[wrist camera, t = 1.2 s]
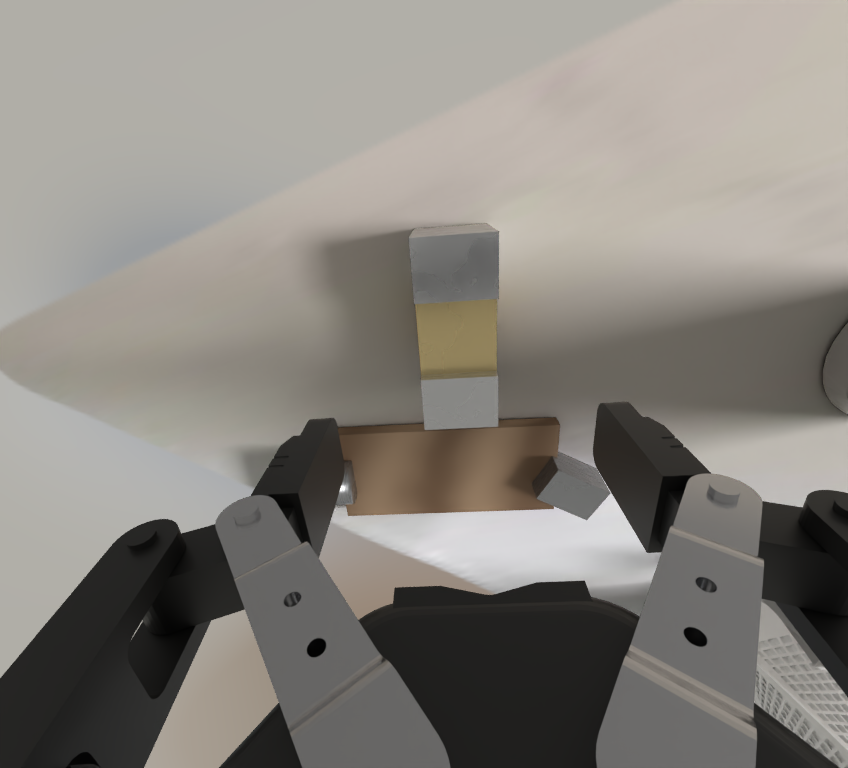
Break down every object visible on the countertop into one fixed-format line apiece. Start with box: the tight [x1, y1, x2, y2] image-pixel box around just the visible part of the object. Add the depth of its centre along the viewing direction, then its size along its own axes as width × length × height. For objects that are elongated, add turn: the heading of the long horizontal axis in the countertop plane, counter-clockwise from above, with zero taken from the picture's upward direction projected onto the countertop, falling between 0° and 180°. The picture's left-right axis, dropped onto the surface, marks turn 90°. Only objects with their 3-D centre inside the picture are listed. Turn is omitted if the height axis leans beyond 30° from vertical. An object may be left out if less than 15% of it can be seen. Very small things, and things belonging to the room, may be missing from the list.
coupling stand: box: [336, 417, 610, 520], centre depth 28 cm, size 21×7×4 cm, turn 94°
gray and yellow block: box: [409, 223, 499, 430], centre depth 23 cm, size 4×10×5 cm, turn 4°
